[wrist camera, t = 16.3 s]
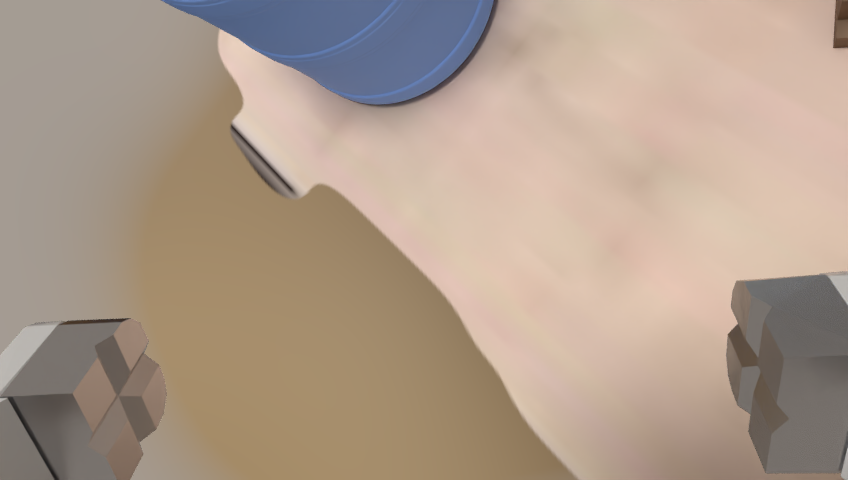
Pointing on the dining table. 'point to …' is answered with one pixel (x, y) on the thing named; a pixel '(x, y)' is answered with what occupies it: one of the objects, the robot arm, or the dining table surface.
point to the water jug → (356, 39)
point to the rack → (841, 24)
